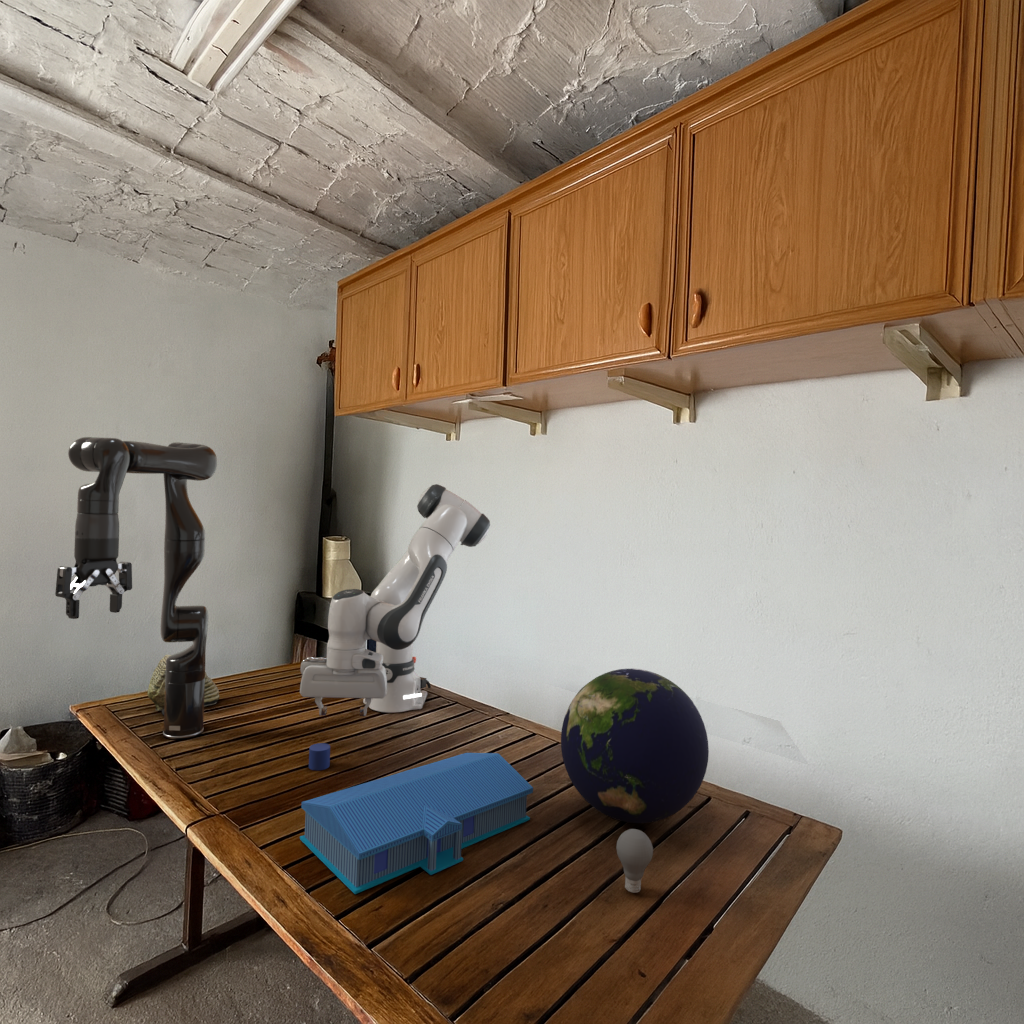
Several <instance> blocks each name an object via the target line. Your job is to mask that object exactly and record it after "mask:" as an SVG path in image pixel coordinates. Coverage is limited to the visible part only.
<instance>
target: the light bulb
mask: <svg viewBox="0 0 1024 1024" xmlns="http://www.w3.org/2000/svg"><path fill="white" fill-rule="evenodd" d="M615 849H616V854H617V857H618V859H619V861H620V863H621V865H622V867H623V873H624V874H623V875H624V876H625V878H624V888H625V890H627V891H628V892H630V893H634V894H635V893H639V892H640V891H641V889H642V887H641V886H642V879H643V877H644V875H645V871H646V868H647V867H648V866H649V864H650V863H651V861H652V859H653V855H654V847H653V843H652V841H651V838H649V836H648V835H647V834H646V833H645V832H643V831H642V830H641V829H636V828H629V829H627V830H625V831H623V832H622V833H621V834H620V835H619V837H618V839H617V841H616V847H615Z"/></svg>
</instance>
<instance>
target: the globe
mask: <svg viewBox="0 0 1024 1024" xmlns="http://www.w3.org/2000/svg"><path fill="white" fill-rule="evenodd" d="M562 722H563V723H562V727H561V733H560V748H561V756H562V762H563V765H564V768H565V770H566V773H567V775H568V778H569V780H570V782H571V783H572V785H573V786H574V788H575V790H576V791H577V792H578V794H579V795H580V796H581V797H582V798H583V799H584V800H585V801H586V802H587V804H589V805H590V806H591V807H593V808H594V809H595V810H596V811H598V812H600V813H601V814H603V815H605V816H607V817H609V818H611V819H613V820H617V821H619V822H624V823H630V824H648V823H649V824H650V823H654V822H659V821H662V820H665V819H667V818H670V817H671V816H673V815H675V814H677V813H678V812H680V811H681V810H682V809H683V808H685V807H686V806H687V805H688V804H689V803H690V802H691V800H692V799H693V798H694V797H695V795H696V794H697V792H698V791H699V789H700V787H701V786H702V784H703V781H704V779H705V777H706V776H705V775H706V773H707V768H708V764H709V756H710V755H709V752H710V751H709V739H708V732H707V728H706V726H705V723H704V720H703V717H702V714H700V712H699V709H698V708H697V706H696V704H695V703H694V701H693V700H692V698H691V697H689V695H688V694H687V693H686V692H685V691H684V690H683V689H682V688H681V687H680V686H678V685H677V684H676V683H675V682H673V681H671V680H670V679H669V678H666V677H665V676H663V675H661V674H658V673H657V672H653V671H650V670H645V669H641V668H619V669H615V670H611V671H607V672H604V673H602V674H601V675H598V676H596V677H594V678H593V679H591V680H590V681H588V682H587V683H586V684H585V685H583V686H582V687H581V689H579V691H578V692H577V693H576V694H575V695H574V697H573V699H572V700H571V702H570V703H569V705H568V707H567V709H566V711H565V715H564V718H563V721H562Z"/></svg>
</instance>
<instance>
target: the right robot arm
mask: <svg viewBox="0 0 1024 1024" xmlns="http://www.w3.org/2000/svg"><path fill="white" fill-rule="evenodd" d="M417 501H418V502H417V505H416V508H417V512H419V515H421V517H423V518H424V519H425V520H424V522H422V524H421V525H420V526H419V528H418V529H417V530H416V532H415V533H414V535H413V536H412V538H411V539H410V541H409V544H408V546H407V550H406V551H405V553H404V554H403V555H402V556H401V558H400V559H399V560H398V561H397V562H396V563H395V564H394V565H393V567H392V568H391V569H390V570H389V571H388V572H387V574H386V575H385V576H384V577H383V579H382V580H381V581H380V582H379V583H378V585H377V586H376V587H375V588H374V589H373V591H372V592H371V594H370V595H368V593H365V591H364V590H363V589H358V588H351V589H344V590H341V591H338V592H336V593H334V595H333V596H332V597H331V601H330V605H329V608H328V609H329V610H328V617H327V618H328V619H327V630H328V640H327V644H326V657H325V656H324V657H323V656H319V657H318V656H317V657H314V656H309V657H307V658H304V659H303V660H302V661H301V663H300V670H299V671H300V674H301V679H300V686H299V694H300V695H301V697H303V698H314V703H315V704H316V706H317V708H318V715H319V716H327V714H328V705H324V704H323V702H322V700H323V699H324V698H330V699H331V698H334V699H335V698H337V699H362V703H363V704H364V706H360V708H359V717H367V713H368V708H369V709H371V710H373V711H376V712H381V713H403V712H407V711H412V710H413V711H414V710H421V709H423V707H424V705H425V702H426V699H427V697H428V691H426V690H424V688H426V687H427V688H428V689H431V688H432V685H431V684H430V681H429V680H427V677H423V676H420V675H418V674H417V672H416V671H415V664H416V662H417V656H413V655H414V654H413V653H414V642H415V641H416V640H417V638H418V636H419V634H420V631H421V628H422V625H423V622H424V619H425V617H426V614H427V612H428V610H429V608H430V607H431V605H432V603H433V601H434V599H435V597H436V595H437V593H438V591H439V589H440V588H441V586H442V583H443V581H444V579H445V577H446V574H447V571H448V562H449V560H450V557H451V556H452V554H453V553H454V551H455V550H456V548H457V546H458V545H459V543H460V546H465V547H468V548H469V547H470V548H473V547H476V546H477V545H480V544H481V543H482V542H483V541H484V540H485V539H486V538H487V536H488V534H489V531H490V527H491V520H490V519H489V518H488V516H486V514H484V513H482V512H480V511H479V509H477V508H476V507H475V506H474V505H473V504H471V503H470V502H469V501H467V500H466V499H463V498H462V497H461V496H459V495H458V494H456V493H454V492H452V491H450V490H448V489H447V487H445V486H443V485H440V484H439V483H438V484H437V483H436V484H431V486H429V487H427V488H426V489H424V490H423V491H422V492H421V494H420V495H419V498H418V500H417ZM368 640H372V641H375V643H376V646H375V651H372V650H371V649H367V648H366V641H368Z"/></svg>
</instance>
